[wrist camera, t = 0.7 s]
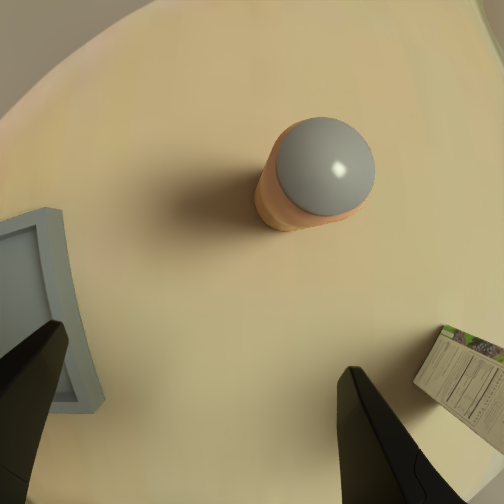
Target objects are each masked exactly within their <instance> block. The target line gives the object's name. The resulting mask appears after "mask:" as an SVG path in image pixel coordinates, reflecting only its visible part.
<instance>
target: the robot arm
mask: <svg viewBox="0 0 504 504" xmlns="http://www.w3.org/2000/svg"><path fill="white" fill-rule="evenodd" d="M68 344H69V338H68V335H67V332H66V329H65V326H64V324H63V322H61V321H58V320H54V319H51V320H49V321H48V322H46V323H45V324H44V325H42V326H41V327H40V328H38V329H37V330H36V331H34V332H33V333H32V334H31V335H29V336H28V337H27V338H25V339H24V340H23V341H22V342H20V343H19V344H18V345H16V346H15V347H14V348H13V349H11V350H10V351H9V352H8V353H6V354H5V355H4V356H3V357H1V358H0V504H25V501H26V496H27V491H28V486H29V484H28V483H29V481H30V477H31V473H32V469H33V465H34V461H35V457H36V453H37V449H38V446H39V442H40V439H41V435H42V432H43V429H44V425H45V422H46V419H47V416H48V413H49V410H50V407H51V404H52V401H53V398H54V395H55V392H56V389H57V386H58V383H59V379H60V375H61V371H62V367H63V363H64V359H65V355H66V352H67V348H68ZM337 438H338V449H339V461H340V474H341V489H342V504H468V503H466V502H465V501H464V500H462V499H461V498H460V497H459V496H458V494H457V493H456V492H455V491H454V490H453V489H452V488H451V487H450V485H449V484H448V483H447V482H446V481H445V480H444V479H443V478H442V476H441V475H440V474H439V473H438V472H437V471H436V469H435V468H434V467H433V466H432V464H431V463H430V462H429V460H428V459H427V458H426V456H425V455H424V454H423V452H422V451H421V449H419V447H418V445H417V444H416V442H415V441H414V440H413V438H412V437H411V435H410V434H409V433H408V431H407V430H406V428H405V427H404V426H403V424H402V423H401V422H400V420H399V419H398V417H397V416H396V415H395V413H394V412H393V410H392V409H391V408H390V406H389V405H388V404H387V402H386V401H385V399H384V398H383V397H382V395H381V394H380V393H379V391H378V390H377V388H376V387H375V386H374V384H373V383H372V382H371V380H370V379H369V378H368V376H367V375H366V373H365V372H364V371H363V369H362V368H361V367H358V366H349V367H347V368H346V370H345V371H344V373H343V374H342V376H341V377H340V379H339V380H338V384H337Z"/></svg>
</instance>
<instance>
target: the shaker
mask: <svg viewBox="0 0 504 504" xmlns="http://www.w3.org/2000/svg"><path fill="white" fill-rule="evenodd" d="M374 179H375V164H374V158H373V155H372V152H371V150H370V148H369V146H368V144H367V142H366V141H365V140H364V138H363V137H362V136H361V135H360V134H359V133H358V132H357V131H356V130H355V129H354V128H352V127H351V126H349V125H348V124H346V123H344V122H342V121H339V120H337V119H333V118H327V117H317V118H311V119H307V120H303V121H300V122H298V123H295V124H293V125H292V126H290V127H288V128H287V129H286V130H285V131H284V132H283V133H282V134H281V135H280V136H279V137H278V139H277V140H276V142H275V144H274V146H273V148H272V151H271V153H270V155H269V158H268V160H267V163H266V165H265V167H264V170H263V172H262V175H261V177H260V179H259V182H258V184H257V187H256V190H255V195H254V201H255V207H256V210H257V212H258V214H259V216H260V217H261V219H262V220H263V221H264V222H265V223H266V224H267V225H269V226H270V227H272V228H274V229H276V230H280V231H295V230H300V229H304V228H309V227H314V226H318V225H323V224H328V223H332V222H337V221H341V220H343V219H346V218H348V217H350V216H351V215H353V214H354V213H355V212H357V211H358V210H359V209H360V208H361V207H362V205H363V204H364V203H365V201H366V199H367V197H368V195H369V193H370V191H371V189H372V186H373V183H374Z"/></svg>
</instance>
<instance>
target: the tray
mask: <svg viewBox="0 0 504 504" xmlns="http://www.w3.org/2000/svg"><path fill="white" fill-rule="evenodd" d="M51 319H54V320H58V321H61V322H63V324H64V326H65V329H66V332H67V335H68V338H69V344H68V348H67V352H66V355H65V359H64V363H63V367H62V371H61V375H60V379H59V383H58V386H57V389H56V392H55V395H54V398H53V401H52V404H51V407H50V410H49V413H69V414H94V413H95V412H96V411H97V409H98V408H99V407H100V405H101V404H102V403H103V402H104V400H105V397H104V395H103V392H102V389H101V386H100V383H99V380H98V377H97V374H96V371H95V367H94V364H93V361H92V358H91V354H90V351H89V347H88V344H87V340H86V336H85V333H84V329H83V325H82V321H81V317H80V313H79V308H78V304H77V300H76V295H75V290H74V285H73V280H72V275H71V270H70V264H69V258H68V252H67V245H66V238H65V231H64V223H63V215H62V210H58V209H53V208H47V207H44V208H41V209H38V210H34V211H31V212H28V213H25V214H22V215H19V216H16V217H13V218H11V219H8V220H5V221H2V222H0V358H1V357H3V356H4V355H5V354H6V353H8V352H9V351H10V350H11V349H13V348H14V347H15V346H16V345H18V344H19V343H20V342H22V341H23V340H24V339H25V338H27V337H28V336H29V335H31V334H32V333H33V332H34V331H36V330H37V329H38V328H40V327H41V326H42V325H44V324H45V323H46V322H48V321H49V320H51Z"/></svg>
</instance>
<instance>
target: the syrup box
mask: <svg viewBox="0 0 504 504" xmlns="http://www.w3.org/2000/svg"><path fill="white" fill-rule="evenodd" d="M413 383H414V384H415V385H417V386H418V387H419V388H420V389H421V390H423V391H424V392H425V393H426V394H428V395H429V396H430V397H431V398H433V399H434V400H435V401H436V402H438V403H439V404H440V405H441V406H443V407H444V408H445V409H446V410H448V411H449V412H450V413H451V414H453V415H454V416H455V417H456V418H458V419H459V420H460V421H462V422H463V423H464V424H465V425H467V426H468V427H469V428H470V429H471V430H473V431H474V432H475V433H476V434H478V435H479V436H480V437H481V438H483V439H484V440H485V441H486V442H487V443H489V444H490V445H491V446H493V447H494V448H495V449H496V450H498V451H499V452H500V453H502V454H503V455H504V348H501V347H499V346H497V345H494V344H492V343H490V342H487V341H485V340H482V339H480V338H478V337H475V336H473V335H470V334H468V333H465V332H463V331H461V330H458V329H456V328H454V327H451V326H449V325H445V326H444V327H443V329H442V331H441V333H440V335H439V336H438V338H437V340H436V342H435V344H434V346H433V347H432V349H431V351H430V353H429V355H428V356H427V358H426V360H425V362H424V363H423V365H422V367H421V369H420V370H419V372H418V374H417V375H416V377H415V379H414V380H413Z"/></svg>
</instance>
